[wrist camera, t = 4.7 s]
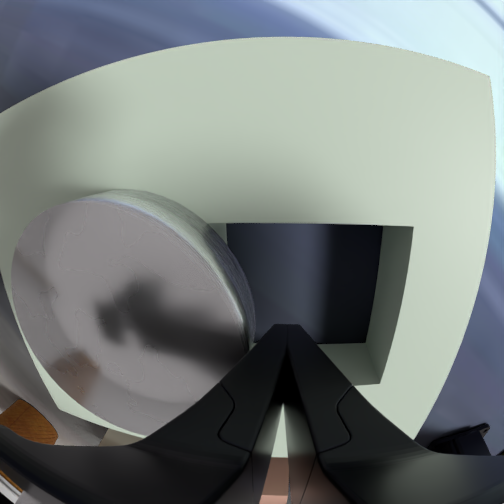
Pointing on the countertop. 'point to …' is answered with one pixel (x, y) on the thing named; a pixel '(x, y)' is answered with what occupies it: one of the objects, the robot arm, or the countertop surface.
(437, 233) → the pocket deck
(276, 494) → the terracotta cube
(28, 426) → the disposable coffee cup
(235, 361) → the metal puck
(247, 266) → the countertop surface
